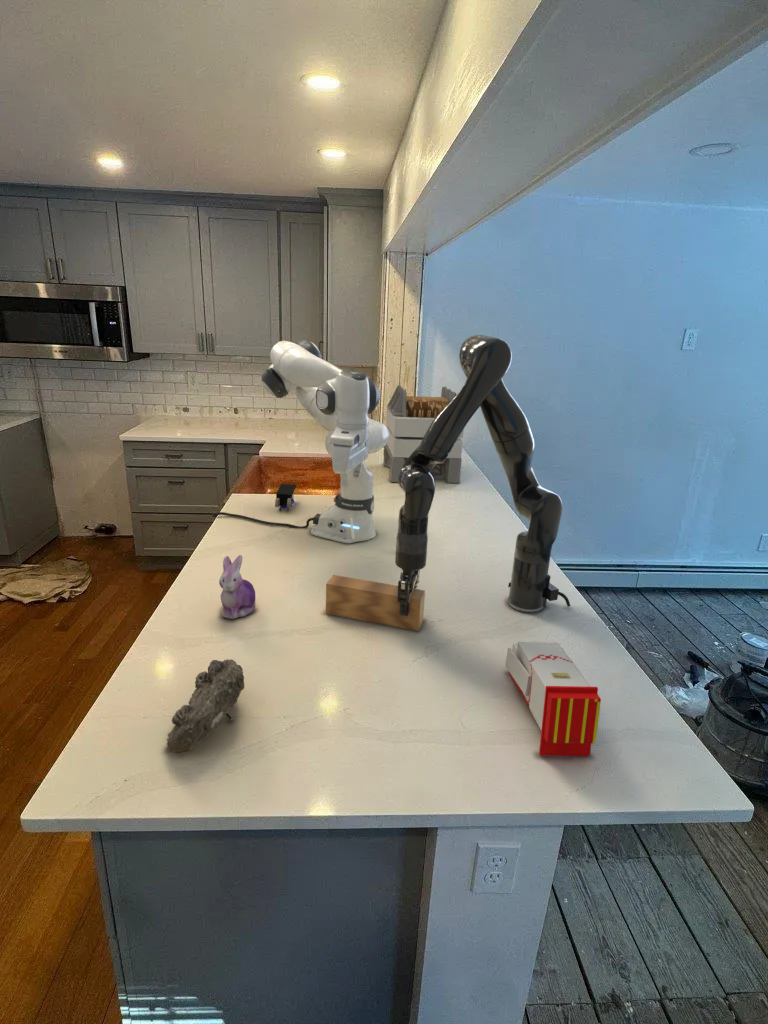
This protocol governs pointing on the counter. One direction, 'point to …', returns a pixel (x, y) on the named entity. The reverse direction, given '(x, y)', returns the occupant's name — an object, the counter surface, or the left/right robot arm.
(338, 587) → the bar
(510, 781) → the counter surface
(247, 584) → the figurine
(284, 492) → the figurine character
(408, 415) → the grey crate
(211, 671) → the fossil
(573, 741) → the toy
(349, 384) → the left robot arm
